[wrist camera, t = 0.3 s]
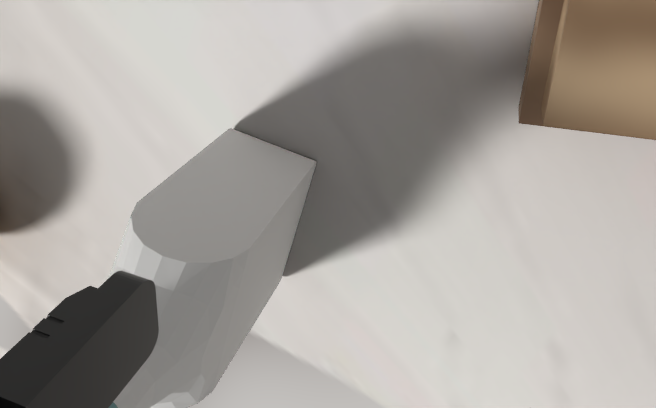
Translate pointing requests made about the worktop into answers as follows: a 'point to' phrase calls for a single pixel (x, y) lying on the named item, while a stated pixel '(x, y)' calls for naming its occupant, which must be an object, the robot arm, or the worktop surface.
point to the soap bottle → (210, 260)
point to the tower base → (592, 67)
